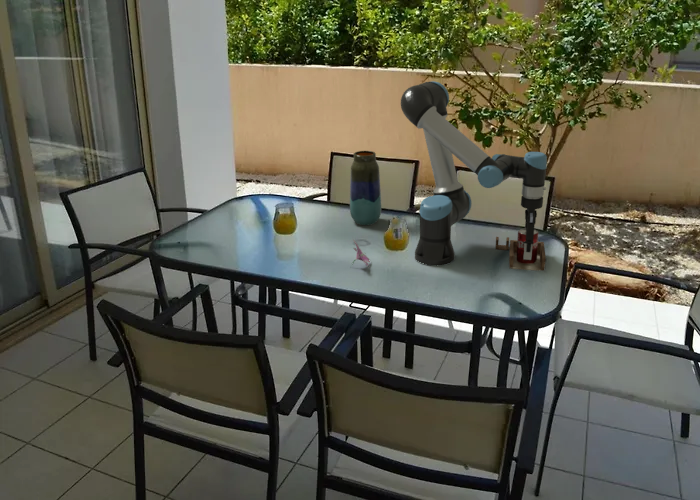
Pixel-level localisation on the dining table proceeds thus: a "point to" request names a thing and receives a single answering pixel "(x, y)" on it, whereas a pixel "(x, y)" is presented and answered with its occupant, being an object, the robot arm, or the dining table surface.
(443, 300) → the dining table surface
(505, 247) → the clip
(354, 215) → the vase
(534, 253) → the soda can
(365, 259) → the lily
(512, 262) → the end holder
